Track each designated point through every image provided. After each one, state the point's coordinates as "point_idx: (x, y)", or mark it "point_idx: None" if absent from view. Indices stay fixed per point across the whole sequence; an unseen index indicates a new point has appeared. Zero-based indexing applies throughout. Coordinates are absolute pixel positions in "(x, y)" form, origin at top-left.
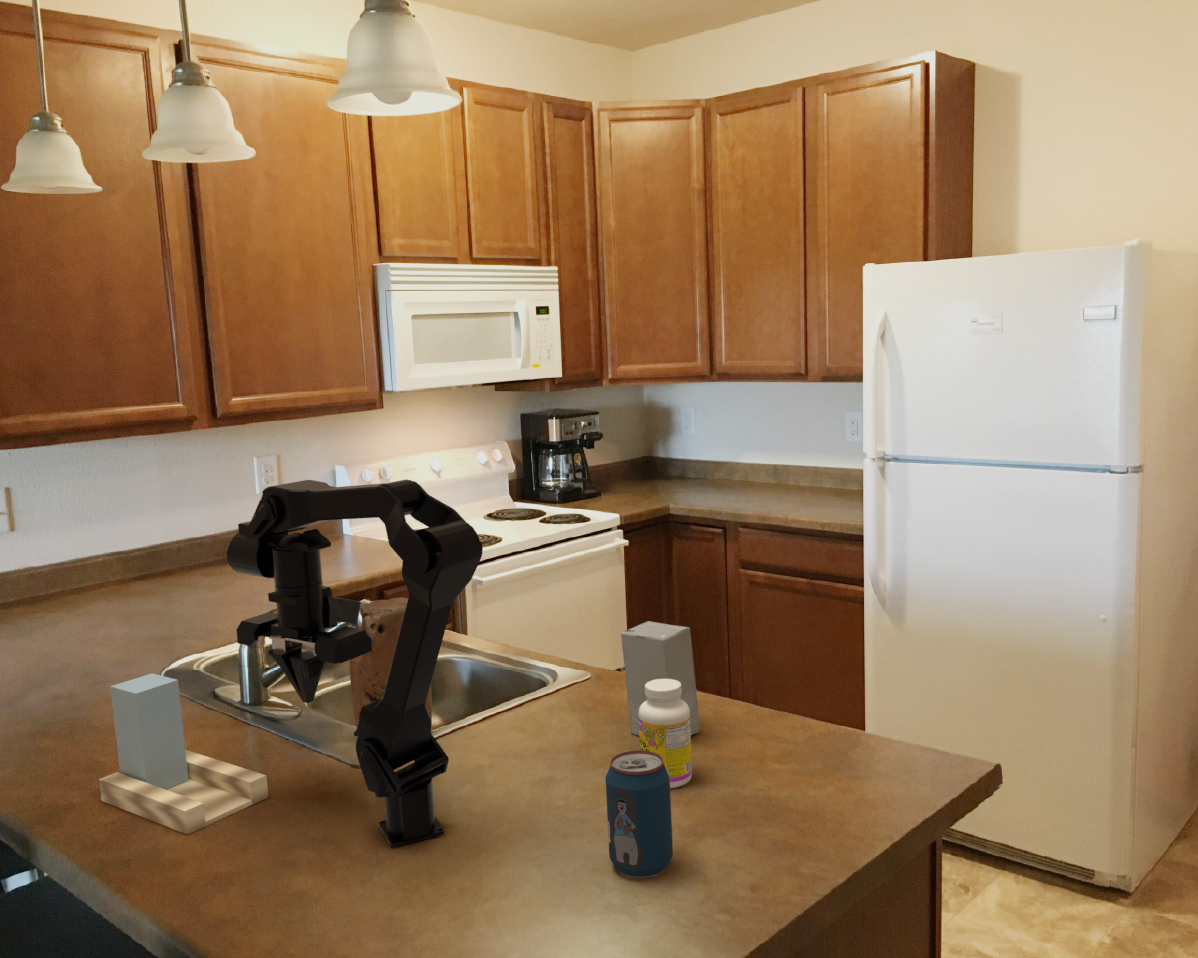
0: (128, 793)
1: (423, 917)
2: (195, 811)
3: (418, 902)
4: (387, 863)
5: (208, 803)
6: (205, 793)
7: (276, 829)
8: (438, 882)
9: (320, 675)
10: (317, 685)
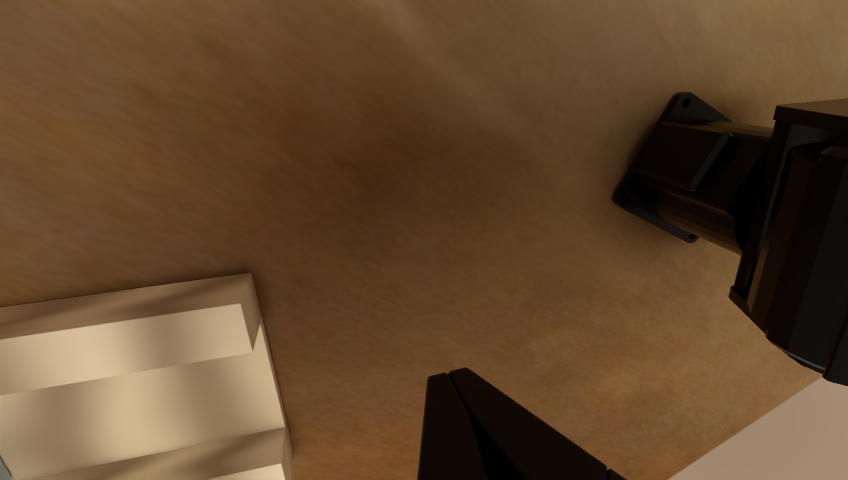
0: None
1: None
2: (286, 469)
3: None
4: (705, 273)
5: (187, 394)
6: (109, 379)
7: (427, 335)
8: None
9: (614, 471)
10: (543, 422)
